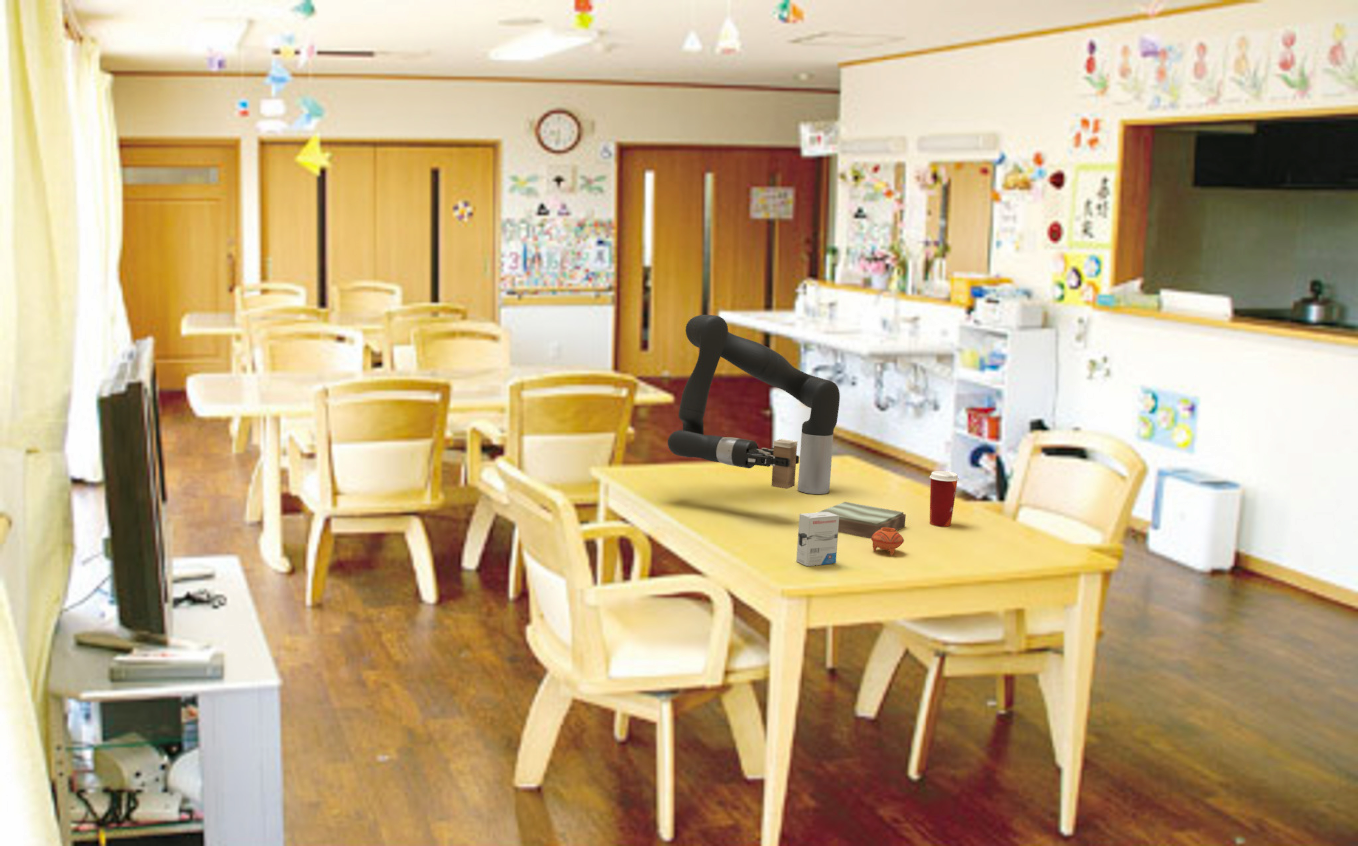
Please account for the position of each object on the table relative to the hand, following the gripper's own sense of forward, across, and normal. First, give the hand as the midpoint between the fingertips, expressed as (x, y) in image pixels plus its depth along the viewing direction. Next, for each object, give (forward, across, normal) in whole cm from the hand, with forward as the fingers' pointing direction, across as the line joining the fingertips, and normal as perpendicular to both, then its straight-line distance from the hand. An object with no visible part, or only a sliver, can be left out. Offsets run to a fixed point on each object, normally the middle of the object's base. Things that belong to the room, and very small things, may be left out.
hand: (793, 461), depth 365 cm
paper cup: (+31, +28, +17) cm, 45 cm away
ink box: (+23, -31, +16) cm, 42 cm away
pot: (+32, -10, +17) cm, 38 cm away
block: (-3, 0, +7) cm, 8 cm away
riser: (+16, +9, +17) cm, 25 cm away
